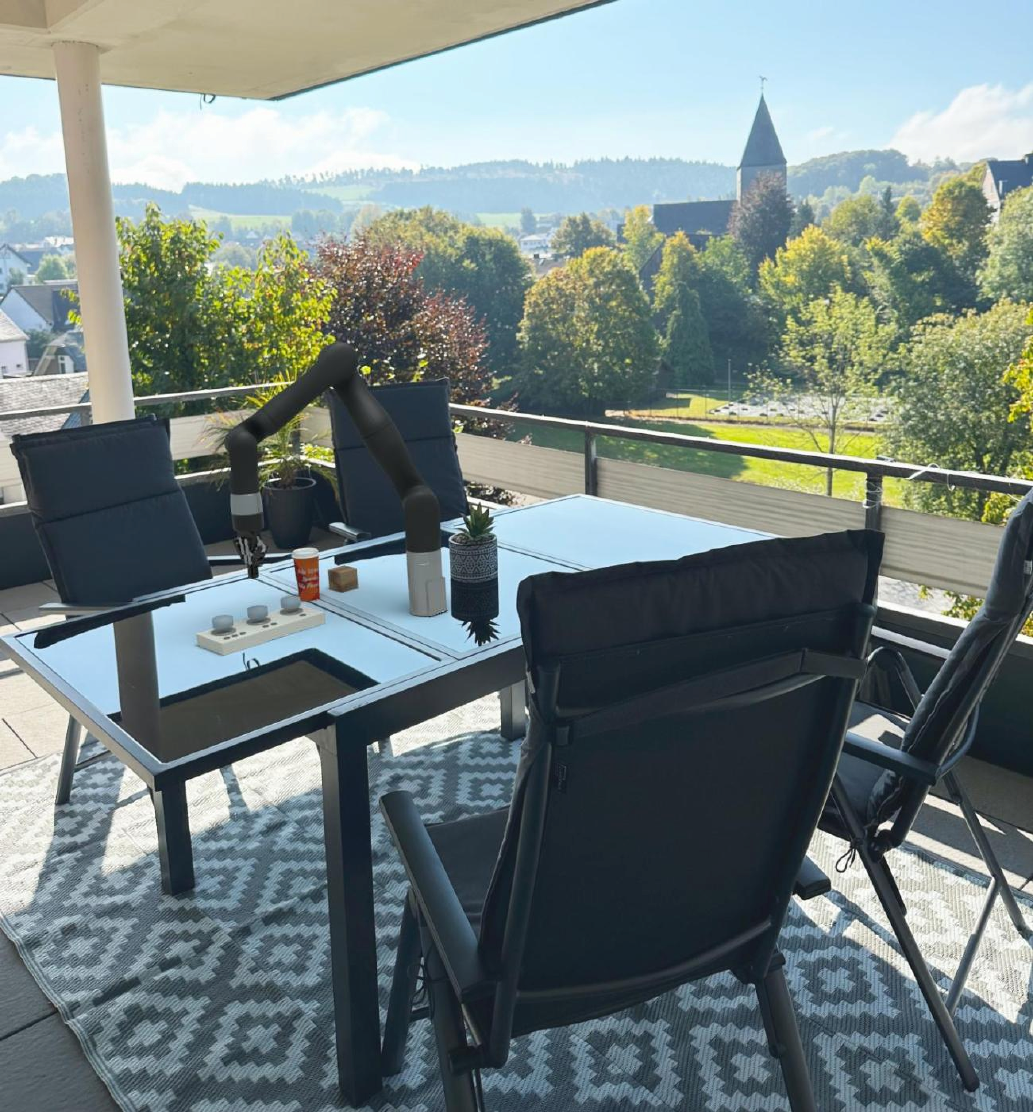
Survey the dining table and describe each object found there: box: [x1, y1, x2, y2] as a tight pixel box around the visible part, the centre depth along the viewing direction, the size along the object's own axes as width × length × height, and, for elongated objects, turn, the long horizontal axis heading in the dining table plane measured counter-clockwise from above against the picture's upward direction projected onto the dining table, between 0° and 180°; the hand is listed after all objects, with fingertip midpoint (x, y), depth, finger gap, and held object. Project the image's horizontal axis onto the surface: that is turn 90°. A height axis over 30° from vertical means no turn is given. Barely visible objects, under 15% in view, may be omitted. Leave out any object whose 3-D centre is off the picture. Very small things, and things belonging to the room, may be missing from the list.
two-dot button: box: [246, 604, 269, 619], centre depth 253 cm, size 5×5×2 cm
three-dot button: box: [211, 614, 234, 629], centre depth 246 cm, size 5×5×2 cm
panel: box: [195, 605, 326, 656], centre depth 253 cm, size 12×30×3 cm, turn 137°
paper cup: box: [291, 547, 321, 602], centre depth 281 cm, size 8×8×14 cm
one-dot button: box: [279, 595, 302, 609], centre depth 260 cm, size 5×5×2 cm
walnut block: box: [327, 565, 359, 594], centre depth 290 cm, size 6×6×6 cm
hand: (253, 577), depth 251 cm, fingers closed
